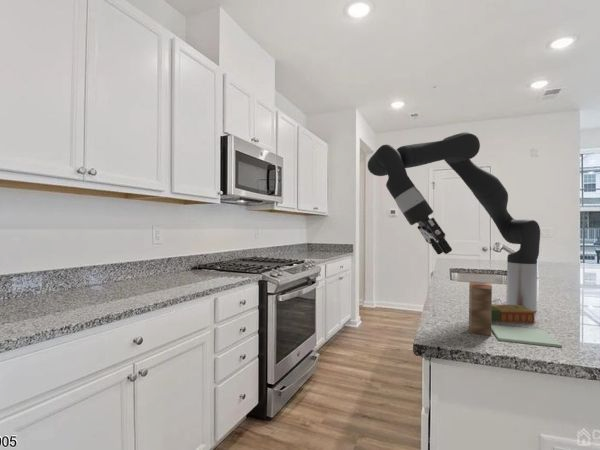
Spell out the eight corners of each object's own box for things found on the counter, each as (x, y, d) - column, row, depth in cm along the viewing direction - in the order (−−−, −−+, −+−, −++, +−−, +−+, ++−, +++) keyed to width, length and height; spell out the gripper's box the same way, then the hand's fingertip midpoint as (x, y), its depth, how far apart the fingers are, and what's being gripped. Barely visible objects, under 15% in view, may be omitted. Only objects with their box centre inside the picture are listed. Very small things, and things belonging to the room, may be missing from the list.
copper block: (471, 333, 95) (471, 284, 95) (469, 328, 100) (469, 281, 100) (491, 335, 93) (491, 285, 93) (487, 330, 98) (488, 282, 98)
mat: (498, 340, 89) (498, 338, 89) (489, 326, 102) (489, 324, 102) (561, 347, 85) (561, 344, 85) (543, 332, 97) (543, 330, 97)
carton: (534, 324, 106) (535, 310, 106) (481, 322, 108) (482, 308, 108) (520, 316, 115) (520, 304, 115) (471, 315, 116) (471, 302, 116)
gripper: (429, 194, 92) (464, 245, 89) (420, 203, 106) (450, 247, 103) (405, 208, 93) (439, 259, 90) (399, 215, 106) (428, 259, 104)
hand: (445, 252), depth 96 cm, fingers open, 8 cm apart
